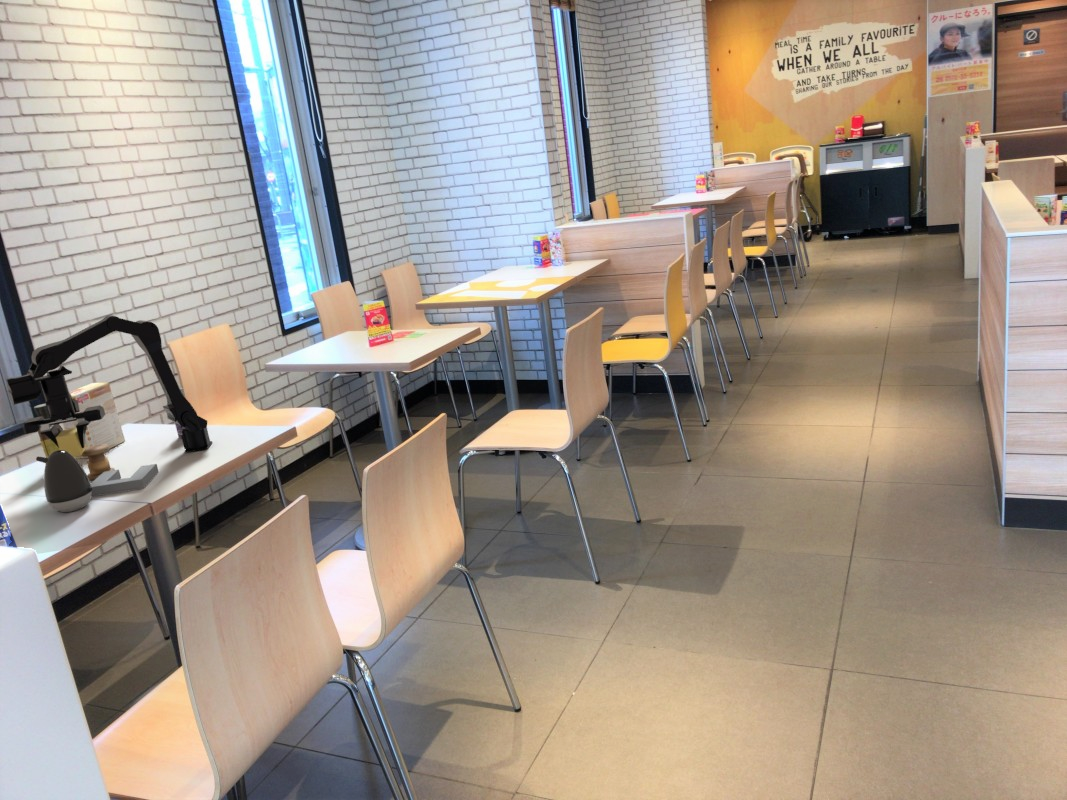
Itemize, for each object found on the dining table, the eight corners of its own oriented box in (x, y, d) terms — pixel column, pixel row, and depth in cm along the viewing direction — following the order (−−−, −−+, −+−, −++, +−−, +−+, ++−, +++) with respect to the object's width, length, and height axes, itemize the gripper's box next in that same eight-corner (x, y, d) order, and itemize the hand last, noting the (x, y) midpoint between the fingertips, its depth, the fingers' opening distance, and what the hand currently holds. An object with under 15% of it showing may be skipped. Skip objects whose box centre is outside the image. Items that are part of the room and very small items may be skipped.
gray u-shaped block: (158, 472, 229) (156, 463, 228) (144, 488, 217) (141, 479, 217) (106, 480, 228) (103, 471, 227) (88, 496, 216) (86, 487, 216)
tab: (80, 455, 223) (74, 433, 221) (62, 458, 222) (55, 437, 220) (86, 447, 229) (80, 426, 227) (68, 451, 228) (62, 430, 226)
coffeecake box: (108, 441, 266) (91, 382, 261) (126, 441, 264) (110, 381, 259) (71, 459, 253) (53, 397, 247) (90, 458, 251) (72, 395, 245)
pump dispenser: (61, 503, 214) (44, 447, 210) (103, 497, 215) (87, 441, 211) (42, 519, 205) (24, 460, 200) (85, 513, 205) (68, 454, 201)
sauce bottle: (80, 466, 244) (61, 401, 238) (62, 474, 238) (42, 408, 233) (63, 466, 246) (44, 401, 240) (45, 474, 240) (25, 408, 235)
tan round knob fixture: (119, 469, 236) (111, 442, 234) (110, 478, 229) (102, 450, 227) (93, 473, 236) (86, 446, 233) (83, 482, 229) (75, 454, 227)
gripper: (100, 380, 230) (116, 434, 235) (26, 394, 226) (43, 448, 230) (92, 389, 220) (108, 445, 224) (14, 404, 216) (32, 460, 220)
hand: (73, 449), depth 225 cm, fingers closed on tab, 4 cm apart
